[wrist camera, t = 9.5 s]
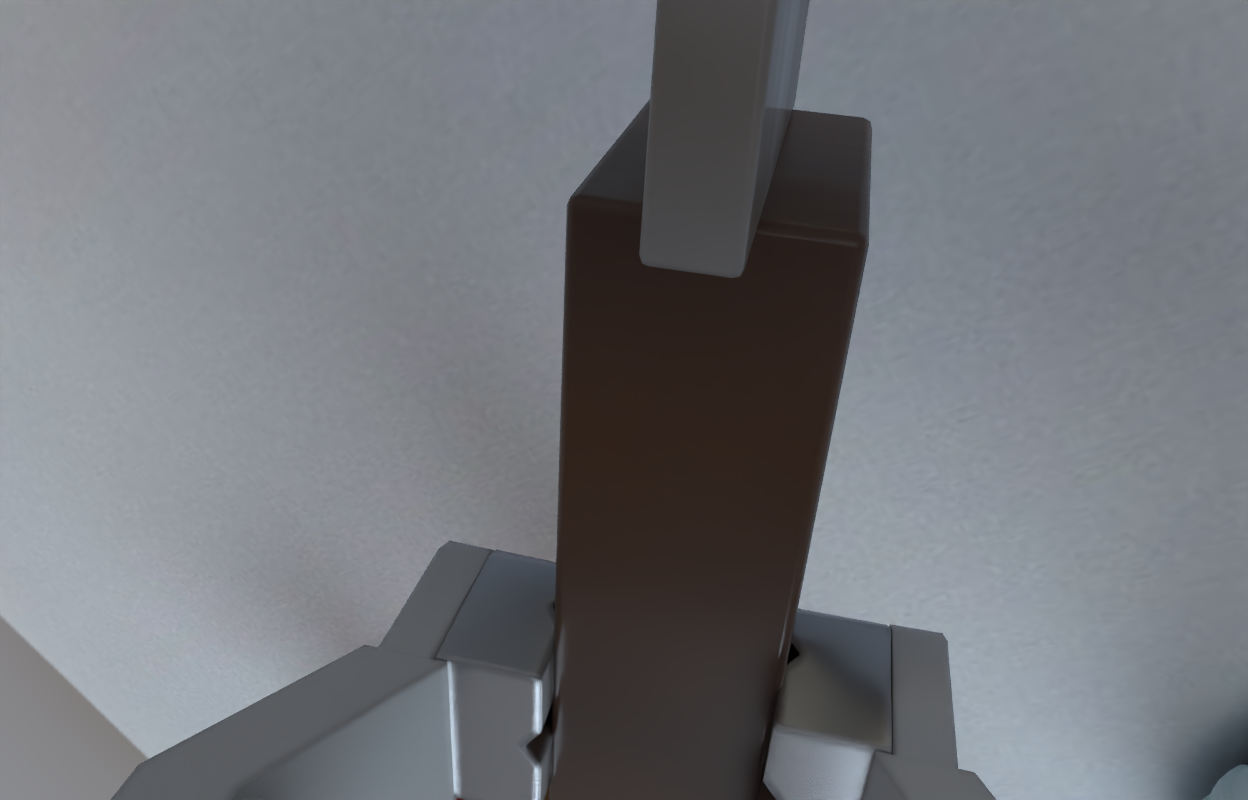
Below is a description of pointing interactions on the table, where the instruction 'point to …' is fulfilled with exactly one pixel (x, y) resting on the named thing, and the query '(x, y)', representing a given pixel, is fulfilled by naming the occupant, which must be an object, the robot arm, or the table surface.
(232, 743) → the robot arm
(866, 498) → the table surface
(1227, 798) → the vase
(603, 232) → the cake knife
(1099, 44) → the table surface
